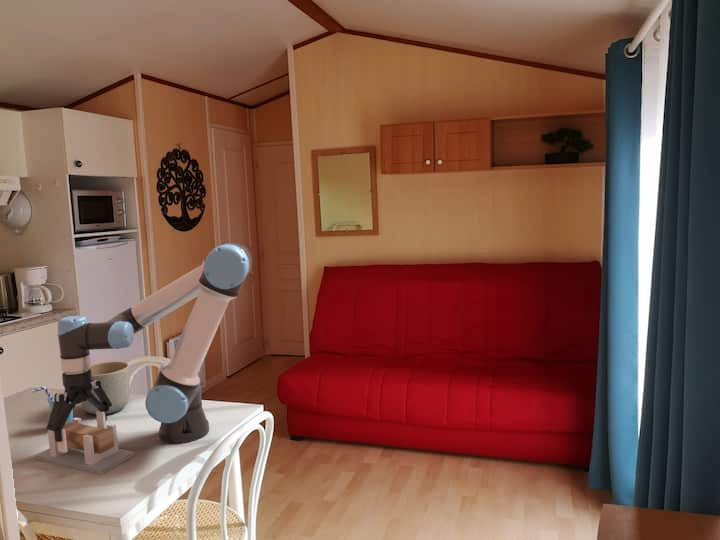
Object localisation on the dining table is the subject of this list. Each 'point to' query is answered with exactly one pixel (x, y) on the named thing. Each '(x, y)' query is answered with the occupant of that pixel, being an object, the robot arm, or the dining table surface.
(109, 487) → the dining table surface
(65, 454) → the bracket board
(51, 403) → the cup
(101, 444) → the rail
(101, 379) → the planter
